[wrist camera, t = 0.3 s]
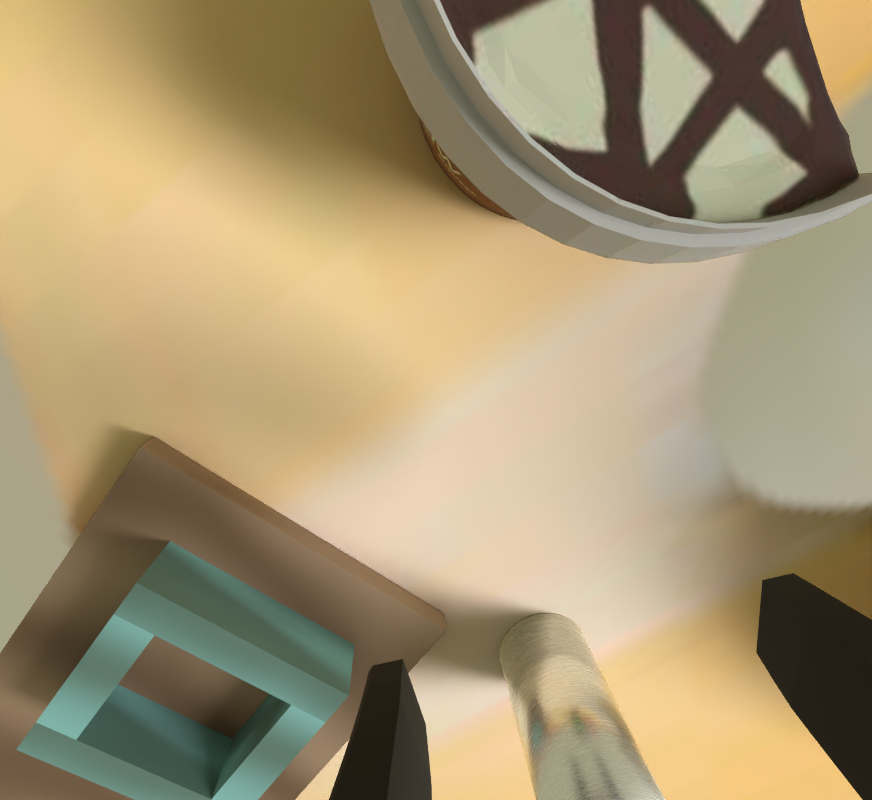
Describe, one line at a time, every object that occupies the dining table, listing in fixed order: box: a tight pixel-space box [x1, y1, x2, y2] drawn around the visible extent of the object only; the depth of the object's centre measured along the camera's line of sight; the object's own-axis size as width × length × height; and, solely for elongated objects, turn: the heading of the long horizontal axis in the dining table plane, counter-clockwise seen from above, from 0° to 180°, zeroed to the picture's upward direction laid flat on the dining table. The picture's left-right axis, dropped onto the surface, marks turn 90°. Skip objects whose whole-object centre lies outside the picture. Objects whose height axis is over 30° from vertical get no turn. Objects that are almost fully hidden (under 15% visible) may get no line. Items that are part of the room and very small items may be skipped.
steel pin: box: [499, 613, 665, 800], centre depth 19 cm, size 4×4×8 cm
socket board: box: [0, 437, 446, 800], centre depth 20 cm, size 20×14×4 cm
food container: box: [369, 0, 872, 264], centre depth 12 cm, size 12×6×10 cm, turn 33°
